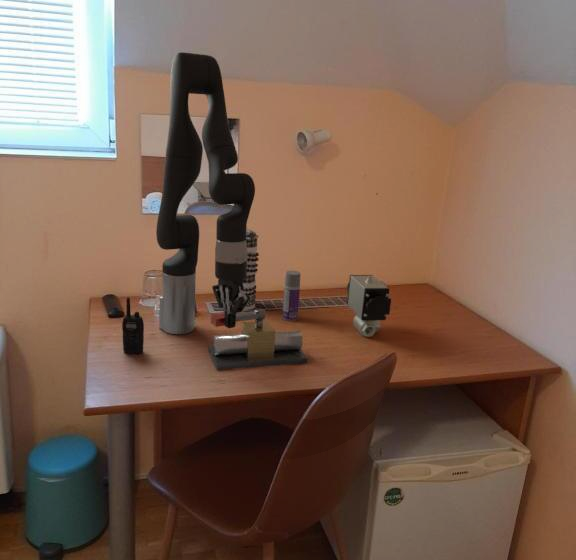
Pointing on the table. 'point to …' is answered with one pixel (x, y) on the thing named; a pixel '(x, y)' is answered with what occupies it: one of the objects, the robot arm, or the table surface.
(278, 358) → the valve board
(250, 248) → the black and white cylinder
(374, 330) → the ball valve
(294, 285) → the container
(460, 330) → the table surface
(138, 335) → the two-way radio
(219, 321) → the valve lever
